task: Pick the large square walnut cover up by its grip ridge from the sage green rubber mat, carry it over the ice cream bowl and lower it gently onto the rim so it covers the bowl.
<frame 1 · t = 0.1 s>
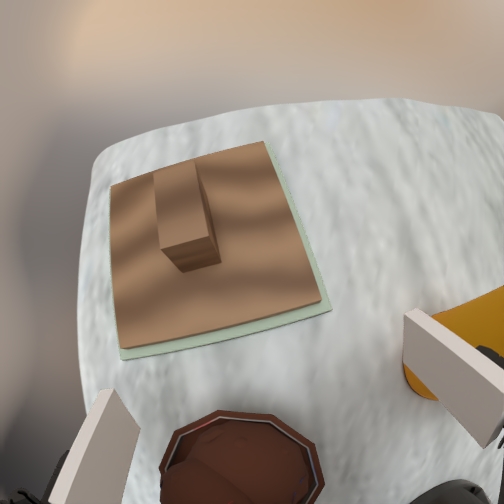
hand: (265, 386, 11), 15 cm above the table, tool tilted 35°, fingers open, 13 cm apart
ice cream bowl: (250, 444, 22), on the table
yellow bottle: (435, 357, 24), on the table
green mat: (200, 241, 31), on the table
walnut cover: (198, 238, 30), point 1 cm above the table, touching green mat
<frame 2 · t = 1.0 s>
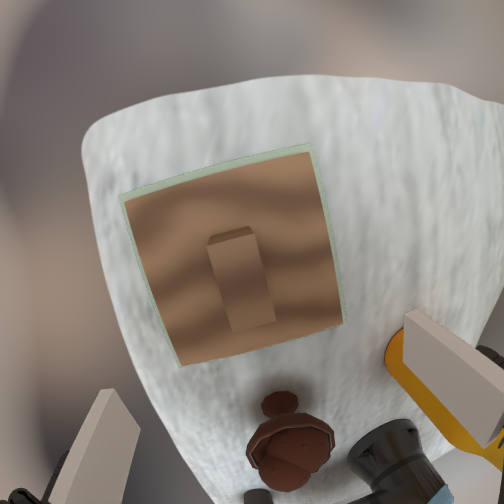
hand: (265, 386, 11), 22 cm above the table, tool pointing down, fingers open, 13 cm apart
ice cream bowl: (279, 404, 36), on the table
coffee cup: (257, 493, 42), on the table
yellow bottle: (406, 347, 37), on the table
green mat: (239, 262, 32), on the table
walnut cover: (239, 264, 31), point 1 cm above the table, touching green mat
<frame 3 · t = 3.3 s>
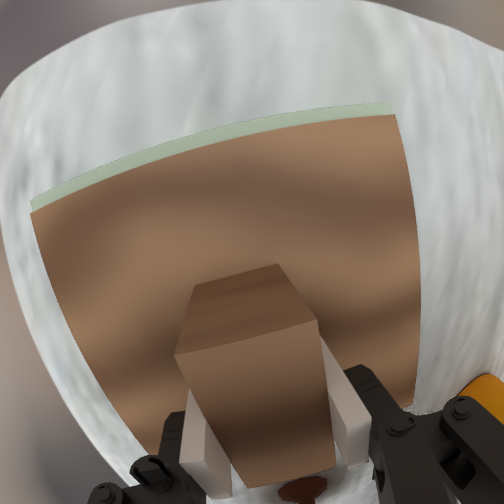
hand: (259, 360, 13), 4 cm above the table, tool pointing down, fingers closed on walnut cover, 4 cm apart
ice cream bowl: (302, 487, 21), on the table
yellow bottle: (466, 402, 22), on the table
green mat: (252, 325, 16), on the table
walnut cover: (253, 332, 15), point 1 cm above the table, touching green mat, gripper
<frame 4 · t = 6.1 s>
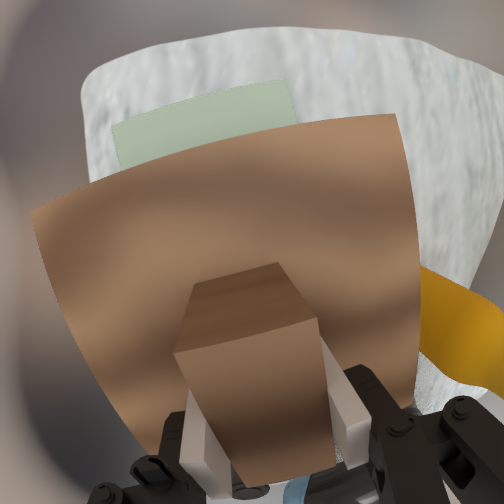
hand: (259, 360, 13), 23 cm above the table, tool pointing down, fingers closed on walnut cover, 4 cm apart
coffee cup: (243, 455, 45), on the table
yellow bottle: (392, 285, 39), on the table
green mat: (218, 183, 33), on the table
walnut cover: (253, 331, 15), point 20 cm above the table, touching gripper
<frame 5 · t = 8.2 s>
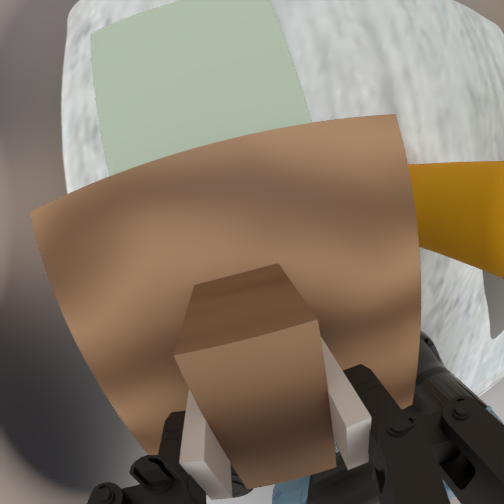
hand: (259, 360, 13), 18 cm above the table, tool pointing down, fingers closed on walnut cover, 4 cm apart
coffee cup: (223, 440, 36), on the table
yellow bottle: (402, 202, 31), on the table
green mat: (190, 71, 25), on the table
walnut cover: (253, 332, 15), point 15 cm above the table, touching gripper
when the fingers open (18 cm above the table, at t = 9.2 s): walnut cover stays where it is, resting on ice cream bowl.
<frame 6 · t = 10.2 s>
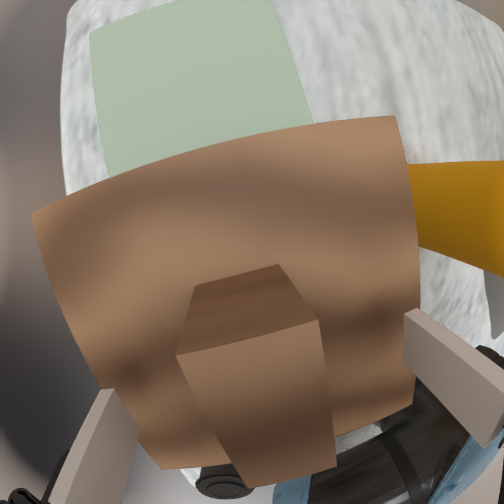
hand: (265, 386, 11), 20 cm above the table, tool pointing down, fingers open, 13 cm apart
coffee cup: (223, 441, 36), on the table
yellow bottle: (403, 202, 30), on the table
green mat: (190, 70, 25), on the table
walnut cover: (254, 332, 15), point 15 cm above the table, touching ice cream bowl
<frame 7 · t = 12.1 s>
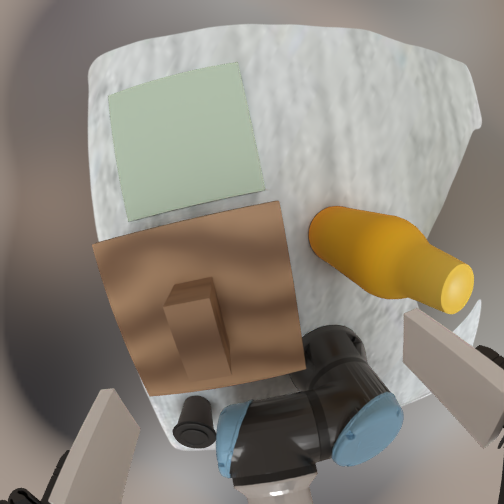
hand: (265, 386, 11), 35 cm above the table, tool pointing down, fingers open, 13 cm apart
coffee cup: (197, 404, 51), on the table
yellow bottle: (332, 233, 46), on the table
green mat: (181, 137, 40), on the table
walnut cover: (203, 310, 30), point 15 cm above the table, touching ice cream bowl
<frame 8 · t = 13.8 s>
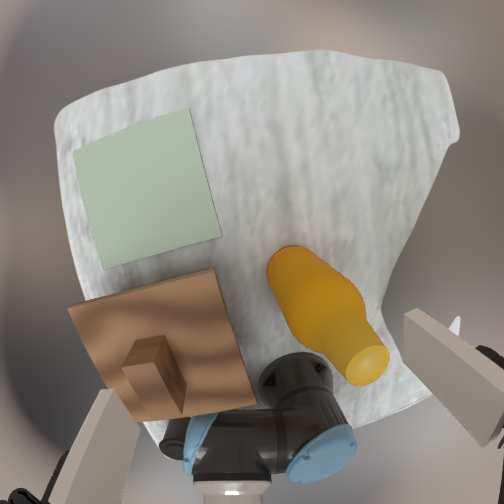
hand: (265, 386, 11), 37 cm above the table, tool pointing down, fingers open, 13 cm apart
coffee cup: (182, 421, 54), on the table
yellow bottle: (292, 270, 49), on the table
green mat: (141, 189, 43), on the table
walnut cover: (163, 357, 34), point 15 cm above the table, touching ice cream bowl
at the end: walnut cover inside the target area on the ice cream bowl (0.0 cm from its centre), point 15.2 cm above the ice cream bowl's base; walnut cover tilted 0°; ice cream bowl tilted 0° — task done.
